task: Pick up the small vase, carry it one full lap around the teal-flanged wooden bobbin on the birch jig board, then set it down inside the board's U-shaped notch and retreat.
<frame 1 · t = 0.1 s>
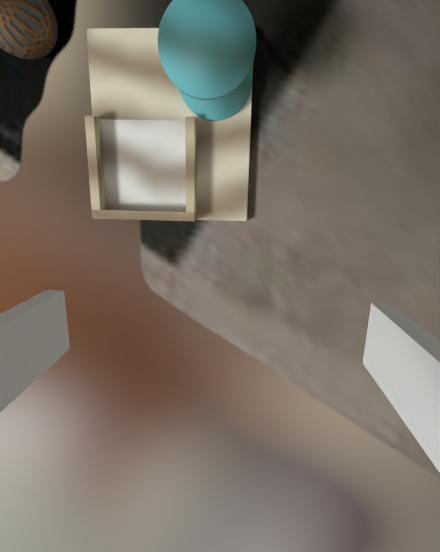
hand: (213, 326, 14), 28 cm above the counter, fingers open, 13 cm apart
jig board: (172, 131, 39), on the counter
vase: (39, 33, 37), on the counter
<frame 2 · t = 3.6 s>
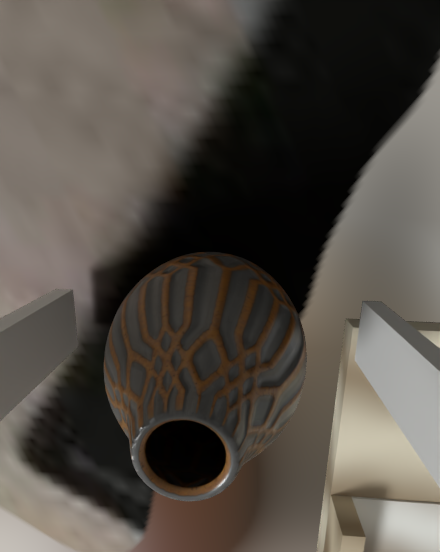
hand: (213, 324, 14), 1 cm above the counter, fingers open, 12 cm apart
vase: (215, 311, 16), on the counter
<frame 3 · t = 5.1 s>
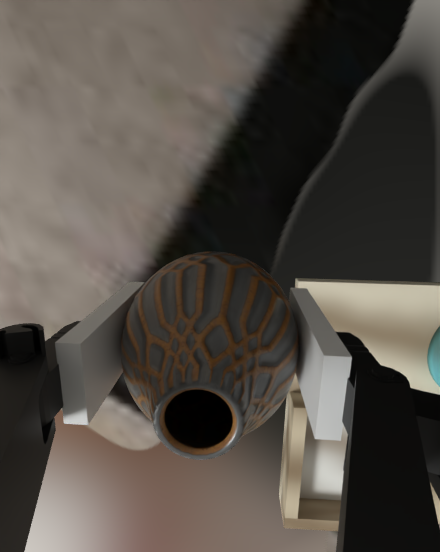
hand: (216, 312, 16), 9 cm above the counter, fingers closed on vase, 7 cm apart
jig board: (398, 400, 27), on the counter
vase: (216, 306, 17), point 8 cm above the counter, touching gripper
when the fingers open (3 cm above the counter, at t = 13.0 s): vase stays where it is, resting on jig board.
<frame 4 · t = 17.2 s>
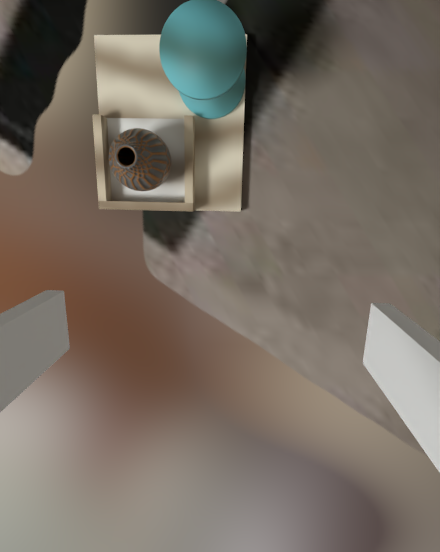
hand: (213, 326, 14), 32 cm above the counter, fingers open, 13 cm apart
jig board: (172, 129, 42), on the counter
vase: (149, 163, 42), point 1 cm above the counter, touching jig board
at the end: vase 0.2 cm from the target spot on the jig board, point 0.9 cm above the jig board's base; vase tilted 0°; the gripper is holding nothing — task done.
